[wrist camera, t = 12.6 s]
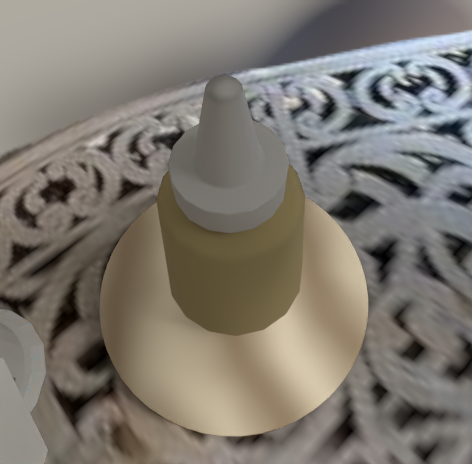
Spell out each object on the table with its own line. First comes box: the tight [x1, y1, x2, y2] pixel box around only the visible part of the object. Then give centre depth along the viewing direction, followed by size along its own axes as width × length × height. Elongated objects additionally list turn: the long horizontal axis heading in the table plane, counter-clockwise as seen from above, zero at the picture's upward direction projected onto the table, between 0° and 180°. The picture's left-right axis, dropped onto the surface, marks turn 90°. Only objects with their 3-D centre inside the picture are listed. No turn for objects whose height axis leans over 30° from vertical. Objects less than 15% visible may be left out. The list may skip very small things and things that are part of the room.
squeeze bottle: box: [156, 76, 305, 336], centre depth 21 cm, size 8×8×18 cm
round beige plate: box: [100, 197, 368, 437], centre depth 28 cm, size 18×18×6 cm
